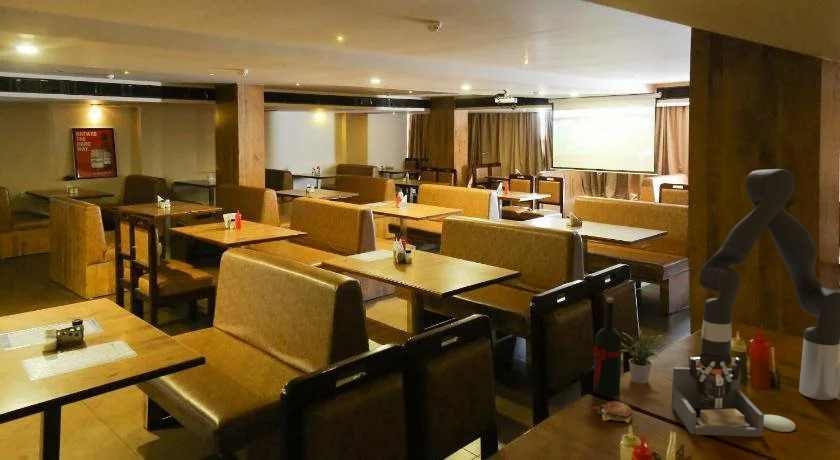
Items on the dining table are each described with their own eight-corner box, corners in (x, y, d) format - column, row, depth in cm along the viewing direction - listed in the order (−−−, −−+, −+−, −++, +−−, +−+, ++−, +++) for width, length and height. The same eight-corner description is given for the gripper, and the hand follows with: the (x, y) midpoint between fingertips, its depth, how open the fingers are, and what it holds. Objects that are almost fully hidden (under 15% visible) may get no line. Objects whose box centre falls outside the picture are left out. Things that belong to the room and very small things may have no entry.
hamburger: (632, 407, 184) (632, 388, 183) (639, 429, 171) (640, 408, 170) (583, 403, 187) (584, 384, 186) (586, 425, 173) (587, 405, 172)
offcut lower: (739, 425, 172) (740, 417, 172) (749, 434, 167) (750, 425, 167) (693, 426, 172) (693, 417, 172) (701, 435, 167) (702, 426, 167)
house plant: (645, 368, 212) (647, 322, 210) (674, 383, 199) (676, 335, 197) (610, 374, 208) (611, 327, 205) (636, 390, 195) (639, 340, 192)
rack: (736, 407, 182) (739, 368, 180) (762, 436, 165) (766, 394, 163) (671, 405, 184) (673, 367, 182) (690, 434, 166) (693, 392, 164)
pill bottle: (726, 410, 173) (729, 371, 171) (704, 408, 174) (706, 370, 172) (721, 401, 179) (723, 363, 177) (699, 399, 180) (700, 362, 178)
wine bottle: (583, 392, 193) (586, 299, 189) (603, 384, 200) (606, 293, 195) (605, 401, 187) (609, 304, 183) (624, 391, 194) (628, 298, 189)
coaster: (785, 417, 175) (785, 415, 175) (801, 432, 167) (801, 430, 167) (752, 416, 176) (752, 414, 176) (766, 431, 168) (766, 429, 167)
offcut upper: (734, 416, 172) (735, 408, 172) (744, 424, 167) (744, 416, 167) (699, 418, 171) (700, 410, 171) (708, 426, 167) (708, 417, 166)
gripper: (737, 332, 176) (734, 388, 179) (685, 331, 178) (682, 387, 180) (749, 341, 169) (745, 399, 172) (694, 340, 170) (691, 398, 173)
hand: (713, 392), depth 176 cm, fingers closed on pill bottle, 6 cm apart
